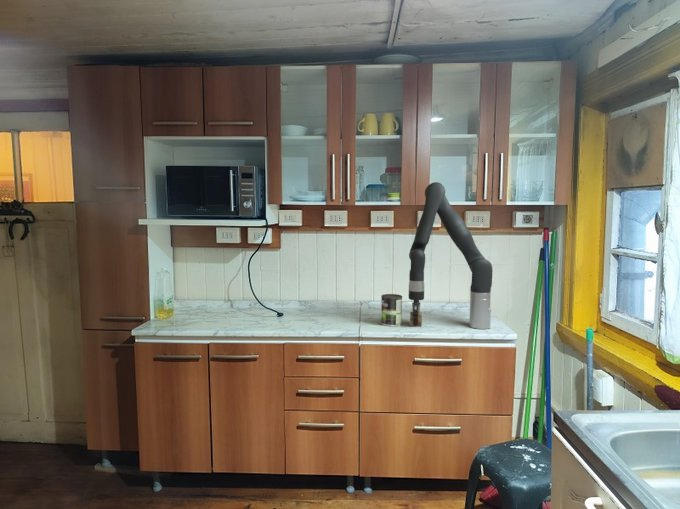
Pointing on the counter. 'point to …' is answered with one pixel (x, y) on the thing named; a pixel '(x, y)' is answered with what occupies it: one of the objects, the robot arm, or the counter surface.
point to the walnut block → (418, 319)
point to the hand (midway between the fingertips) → (415, 323)
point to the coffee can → (391, 310)
